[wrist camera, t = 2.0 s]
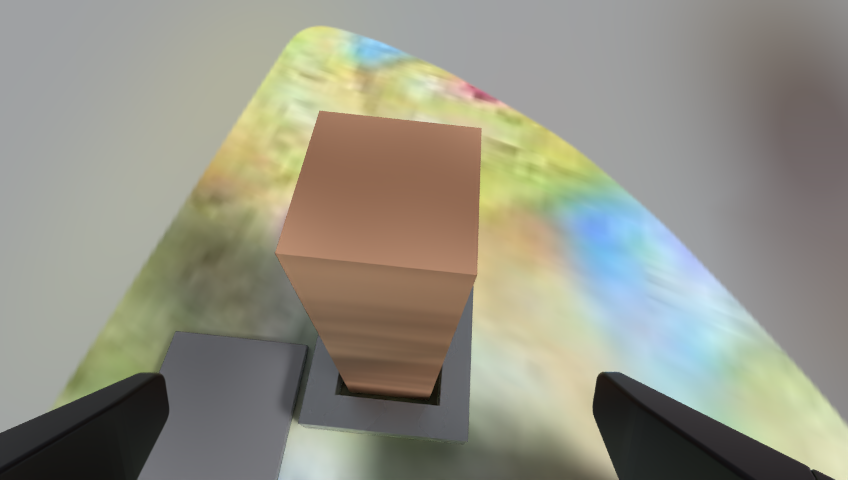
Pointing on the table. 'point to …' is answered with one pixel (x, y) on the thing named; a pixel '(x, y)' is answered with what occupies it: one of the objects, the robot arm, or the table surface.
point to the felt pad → (226, 408)
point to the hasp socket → (395, 417)
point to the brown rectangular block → (385, 245)
